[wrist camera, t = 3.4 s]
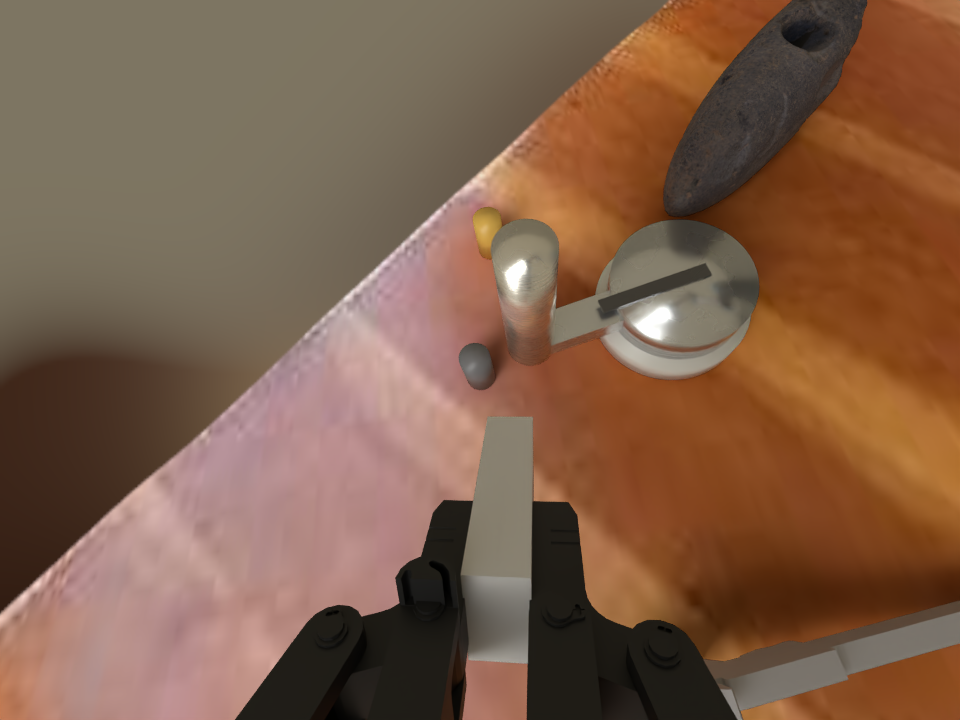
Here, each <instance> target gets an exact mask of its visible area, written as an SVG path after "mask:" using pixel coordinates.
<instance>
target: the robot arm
mask: <svg viewBox="0 0 960 720" xmlns="http://www.w3.org/2000/svg"><path fill="white" fill-rule="evenodd" d="M395 579H396V585H397V590H398V596H399V602H400V603H399V604H398V605H396V606H394V607H392V608H391V609H388V610H385V611H382V612H379V613H375V614H371V615H367V616H363V617H361V615H360V614H359V612H358V611H357V610H356V609H354V608H352V607H350V606H344V605H336V606H332V607H328V608H325V609H324V610H322V611H320V612H318V613H317V614H315V615H314V616H313V617H312V618H311V619H310V620H309V621H308V622H307V623H306V625H305V626H304V627H303V629H302V630H301V631H300V633H299V634H298V635H297V637H296V638H295V639H294V641H293V642H292V643H291V645H290V646H289V647H288V649H287V650H286V652H285V653H284V654H283V656H282V657H281V658H280V660H279V661H278V662H277V664H276V665H275V666H274V668H273V669H272V670H271V672H270V673H269V675H268V676H267V677H266V679H265V680H264V681H263V683H262V684H261V685H260V687H259V688H258V689H257V691H256V692H255V693H254V695H253V696H252V697H251V699H250V700H249V702H248V703H247V704H246V706H245V707H244V708H243V710H242V711H241V712H240V714H239V715H238V716H237V718H236V719H235V720H462V717H463V709H464V701H465V693H466V672H465V667H466V659H467V652H468V657H469V660H477V661H493V662H508V663H524V664H528V677H527V720H738V719H737V718H736V716H735V714H734V712H733V711H732V709H731V707H730V705H729V704H728V702H727V700H726V698H725V697H724V695H723V693H722V691H721V690H720V688H719V686H718V684H717V683H716V681H715V679H714V677H713V676H712V674H711V672H710V671H709V669H708V667H707V665H706V664H705V662H704V660H703V658H702V657H701V655H700V653H699V651H698V650H697V648H696V646H695V644H694V643H693V642H692V641H691V639H690V638H689V637H688V636H687V634H686V633H685V632H683V631H682V630H680V629H679V628H677V627H676V626H675V625H673V624H670V623H667V622H664V621H661V620H646V621H644V622H641V623H639V624H637V625H636V626H635V627H634V628H633V629H632V628H629V627H626V626H623V625H620V624H617V623H615V622H613V621H611V620H608V619H606V618H605V617H603V616H602V615H601V614H599V613H598V612H597V611H596V610H595V609H594V608H593V606H592V605H591V603H590V602H589V600H588V598H587V594H586V590H585V581H584V572H583V563H582V554H581V546H580V536H579V527H578V518H577V514H576V513H575V511H574V510H573V508H572V507H571V506H570V504H569V503H568V502H540V501H534V472H533V417H488V418H487V424H486V430H485V436H484V441H483V447H482V453H481V459H480V465H479V471H478V476H477V482H476V488H475V494H474V500H473V501H455V500H443V502H442V503H441V504H440V505H439V506H438V507H437V509H436V510H435V511H434V512H433V515H432V519H431V522H430V526H429V530H428V533H427V537H426V541H425V544H424V548H423V552H422V555H421V557H419V558H416V559H414V560H412V561H409V562H408V563H407V564H406V565H405V566H403V567H402V568H401V569H400V571H399V573H398V574H397V576H396V578H395Z"/></svg>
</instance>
